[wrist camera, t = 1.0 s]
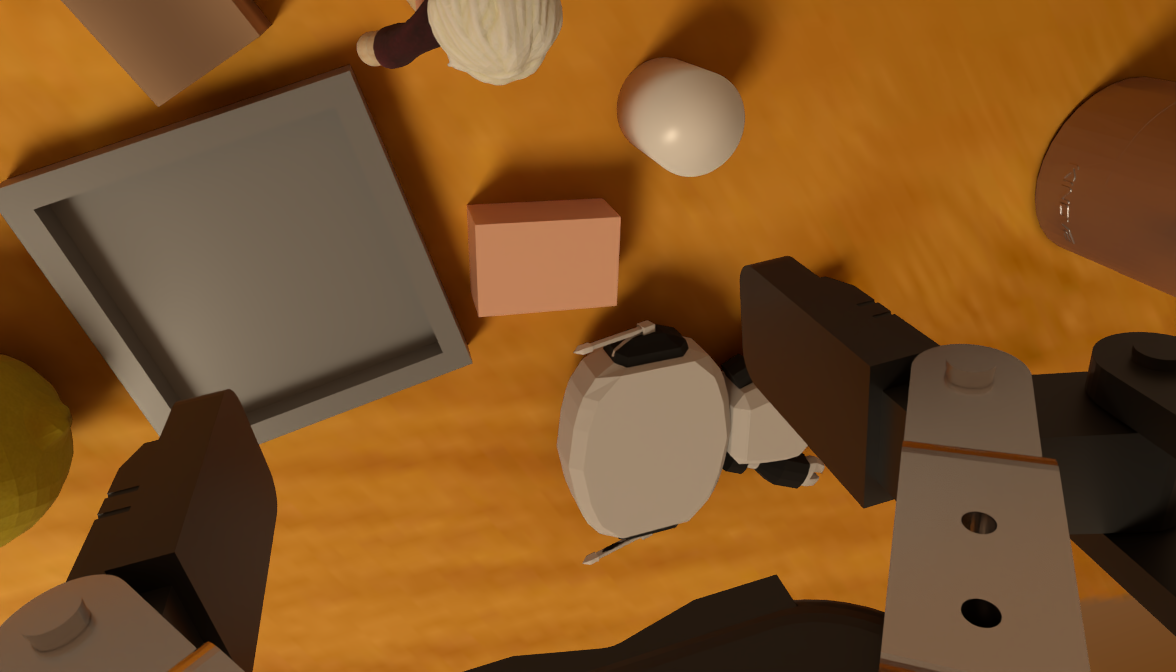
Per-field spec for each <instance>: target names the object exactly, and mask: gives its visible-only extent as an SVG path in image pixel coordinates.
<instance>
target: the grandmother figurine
mask: <svg viewBox="0 0 1176 672" xmlns="http://www.w3.org/2000/svg"><path fill="white" fill-rule="evenodd" d="M407 1H408V3H409V4H410V5H411V7H412V8H413V9H414V10H415V13H414V15H413V16H412V17H411V18H410V19H408V20H407V21H406V23H396V24H393V25H390V26H386V27H384V28H382V29H380V30H378V31H375V32H373V31H371V32H366V33H365V34H363V35H362V36H361V37H360V38H359V40H358V42H357V52H358V55H359V57H360V58H361V60H362V61H363V62H364V63H366V64H368V65H369V66H381V65H382V66H383V67H386V68H390V69H394V68H399V67H403V66H405V65H408V64H409V63H411V62H412V61H413V60H414V59H415V58H416V57H418V56H419V55H421V54H423V53H425V52H427V51H430V50H432V49H435V48H438V47H440V46H441V47H442V48H443V50H444V51H445V52H446V53H447V55H448V58H449V63H448V66H449V67H453V68H455V69H458V70H461V71H464V72H467V73H468V74H470V75H471V76H472V77H474V78H475V79H477V80H479V81H481V82H484V83H490V84H494V85H505V84H508V83H510V82H512V81H515V80H519V79H523V78H526V77H528V76H529V75H531V74H533V73H534V72H535V71H536V70H537V69H538V68H539V66H540V65H541V63H542V61H543V60H544V58H545V55H546V52H547V51H548V50H549V48H550V47H551V46H552V44H553V42H554V41H555V39H556V38H557V36H558V34H559V32H560V30H561V27H562V22H563V16H562V6H561V2H560V0H407Z"/></svg>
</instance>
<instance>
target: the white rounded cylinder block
mask: <svg viewBox="0 0 1176 672" xmlns="http://www.w3.org/2000/svg"><path fill="white" fill-rule="evenodd" d="M617 118H618V123H619V126H620V128H621V130H622V133H623V134H624V136H625V137H626V138H627V140H628V141H629V142H630V143H631V144H633V145H634V146H635V147H636V148H638V149H639V150H641V151H642V152H643V153H645V154H646V155H647V156H649V157H650V158H651V159H653V160H654V161H655V162H657V163H658V164H660V165H661V166H662V167H664V168H665V169H666V170H668V171H670V172H672V173H674V174H676V175H680V176H686V177H695V176H701V175H704V174H707V173H709V172H712V171H713V170H715V169H717V168H718V167H720V166H721V165H722V164H724V163H725V162H726V161H727V160H728V159H729V157H730V156H731V155H732V154H733V152H734V151H735V149H736V148H737V146H738V144H739V142H740V139H741V136H742V133H743V129H744V122H745V113H744V106H743V102H742V99H741V97H740V94H739V93H738V91H737V89H736V88H735V87H734V85H733V84H732V83H731V82H730V81H729V80H727V79H726V78H725V77H723V76H721V75H719V74H717V73H714V72H711V71H709V70H706V69H703V68H700V67H698V66H695V65H692V64H689V63H687V62H684V61H681V60H678V59H675V58H670V57H660V58H655V59H651V60H649V61H646V62H644V63H643V64H641V65H639V66H638V67H637V68H636V69H634V70H633V71H632V72H631V73H630V75H629V76H628V77H627V79H626V80H625V82H624V83H623V85H622V88H621V90H620V93H619V96H618V101H617Z"/></svg>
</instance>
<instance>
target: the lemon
mask: <svg viewBox="0 0 1176 672" xmlns="http://www.w3.org/2000/svg"><path fill="white" fill-rule="evenodd" d="M71 424H72V416H71V413H70V410H69V408H68V407H67V406H66V405H65V404H63V403H62V402H61V400H60V398H59V395H58V393H57V391H56V390H55V389H54V387H53V386H52V385H51V383H49V382H48V381H47V380H46V379H45V378H43V377H42V376H41V375H40V374H39V373H38V372H36V371H35V370H34V369H33V368H32V367H30V366H28V365H27V364H25V363H24V362H22V361H19V360H17V359H14V358H12V357H9V356H7V355H2V354H0V547H2V546H4V545H6V544H7V543H9V542H10V541H12V540H13V539H15V538H16V537H18V536H19V535H21V534H22V533H24V532H25V531H27V530H28V529H30V528H31V527H32V526H33V525H34V524H35V523H36V522H37V521H38V520H39V519H40V518H41V517H42V516H43V515H44V514H45V513H46V511H47V510H48V509H49V508H50V507H51V505H52V504H53V502H54V501H55V500H56V498H57V497H58V495H59V493H60V491H61V488H62V486H63V484H64V482H65V480H66V478H67V475H68V473H69V469H70V465H71V461H72V457H73V439H72V433H71V428H70V427H71Z"/></svg>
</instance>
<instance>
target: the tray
mask: <svg viewBox="0 0 1176 672" xmlns="http://www.w3.org/2000/svg"><path fill="white" fill-rule="evenodd" d="M0 213H1V215H2V216H3V217H4V219H5V220H6V222H7V223H8V224H9V226H10V227H11V229H12V230H13V231H14V233H15V234H16V236H17V237H18V238H19V240H20V241H21V243H22V244H23V245H24V247H25V248H26V250H27V251H28V252H29V254H30V255H31V257H32V258H33V259H34V261H35V262H36V264H37V265H38V266H39V268H40V269H41V271H42V272H43V274H44V275H45V276H46V278H47V279H48V281H49V282H50V283H51V285H52V286H53V288H54V289H55V290H56V292H57V293H58V295H59V296H60V297H61V299H62V300H63V302H64V303H65V304H66V306H67V307H68V309H69V310H70V311H71V313H72V314H73V316H74V317H75V318H76V320H77V321H78V323H79V324H80V325H81V327H82V328H83V330H84V331H85V332H86V334H87V335H88V337H89V338H90V339H91V341H92V342H93V344H94V345H95V346H96V348H97V349H98V351H99V352H100V354H101V355H102V356H103V358H104V359H105V361H106V362H107V363H108V365H109V366H110V368H111V369H112V370H113V372H114V373H115V375H116V376H117V377H118V379H119V380H120V382H121V383H122V384H123V386H124V387H125V389H126V390H127V391H128V393H129V394H130V396H131V397H132V398H133V400H134V401H135V403H136V404H137V405H138V407H139V408H140V410H141V411H142V412H143V414H144V415H145V417H146V418H147V419H148V421H149V422H150V424H151V425H152V426H153V428H154V429H155V431H156V432H157V434H158V435H159V436H160V435H161V433H162V431H163V428H164V426H165V423H166V421H167V419H168V416H169V414H170V411H171V409H172V407H173V405H174V403H175V402H177V401H180V400H185V399H189V398H193V397H197V396H201V395H205V394H210V393H214V392H218V391H222V390H226V389H231V390H232V391H234V393H235V394H236V395H237V397H238V398H239V400H240V402H241V404H242V407H243V409H244V411H245V414H246V416H247V418H248V421H249V423H250V425H251V428H252V430H253V432H254V435H255V437H256V439H257V442H258V444H261V443H264V442H266V441H269V440H272V439H274V438H277V437H280V436H282V435H285V434H287V433H290V432H293V431H295V430H298V429H301V428H303V427H306V426H308V425H311V424H314V423H316V422H319V421H322V420H324V419H327V418H330V417H332V416H335V415H337V414H340V413H343V412H345V411H348V410H351V409H353V408H356V407H359V406H361V405H364V404H366V403H369V402H372V401H374V400H377V399H380V398H382V397H385V396H387V395H390V394H393V393H395V392H398V391H401V390H403V389H406V388H409V387H411V386H414V385H416V384H419V383H422V382H424V381H427V380H430V379H432V378H435V377H438V376H440V375H443V374H445V373H448V372H451V371H453V370H456V369H459V368H461V367H464V366H466V365H469V364H472V359H471V356H470V352H469V348H468V345H467V343H466V340H465V338H464V336H463V333H462V331H461V328H460V326H459V324H458V321H457V319H456V316H455V314H454V312H453V309H452V307H451V304H450V302H449V300H448V297H447V295H446V292H445V290H444V288H443V285H442V283H441V280H440V278H439V276H438V273H437V271H436V268H435V266H434V264H433V261H432V259H431V257H430V254H429V252H428V249H427V247H426V245H425V242H424V240H423V237H422V235H421V233H420V230H419V228H418V225H417V223H416V221H415V218H414V216H413V213H412V211H411V209H410V206H409V204H408V201H407V199H406V197H405V194H404V192H403V189H402V187H401V185H400V182H399V180H398V178H397V175H396V173H395V170H394V168H393V166H392V163H391V161H390V158H389V156H388V154H387V151H386V149H385V146H384V144H383V142H382V139H381V137H380V134H379V132H378V130H377V127H376V125H375V122H374V120H373V118H372V115H371V113H370V110H369V108H368V106H367V103H366V101H365V99H364V96H363V94H362V91H361V89H360V87H359V84H358V82H357V79H356V77H355V75H354V72H353V70H352V67H351V65H347V66H344V67H341V68H338V69H335V70H332V71H329V72H326V73H323V74H320V75H317V76H314V77H311V78H308V79H305V80H302V81H299V82H296V83H293V84H290V85H287V86H284V87H281V88H278V89H275V90H272V91H269V92H266V93H263V94H260V95H257V96H254V97H251V98H248V99H245V100H242V101H239V102H236V103H233V104H230V105H227V106H224V107H221V108H219V109H216V110H213V111H210V112H207V113H204V114H201V115H198V116H195V117H192V118H189V119H186V120H183V121H180V122H177V123H174V124H171V125H168V126H165V127H162V128H159V129H156V130H153V131H150V132H147V133H144V134H141V135H138V136H135V137H132V138H129V139H126V140H123V141H120V142H117V143H114V144H111V145H108V146H105V147H102V148H99V149H96V150H93V151H90V152H87V153H84V154H81V155H78V156H75V157H72V158H69V159H66V160H63V161H60V162H57V163H54V164H52V165H49V166H46V167H43V168H40V169H37V170H34V171H31V172H28V173H25V174H22V175H19V176H16V177H13V178H10V179H7V180H5V181H3V182H2V183H0Z"/></svg>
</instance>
